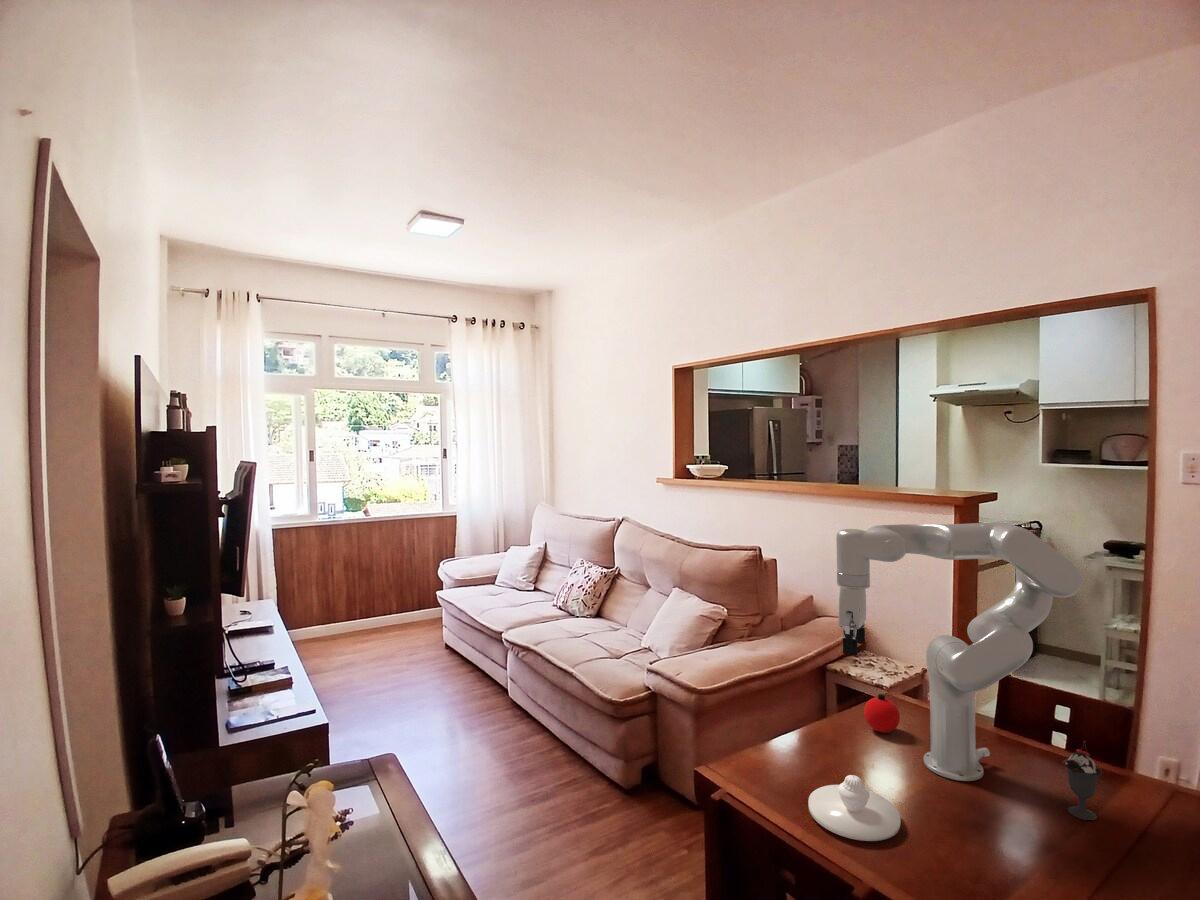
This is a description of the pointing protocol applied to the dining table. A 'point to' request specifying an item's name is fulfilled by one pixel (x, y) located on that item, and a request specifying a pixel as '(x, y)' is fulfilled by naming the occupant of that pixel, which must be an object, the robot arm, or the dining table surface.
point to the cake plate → (854, 815)
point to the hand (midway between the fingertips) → (854, 648)
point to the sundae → (1082, 781)
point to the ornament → (881, 714)
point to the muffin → (853, 794)
